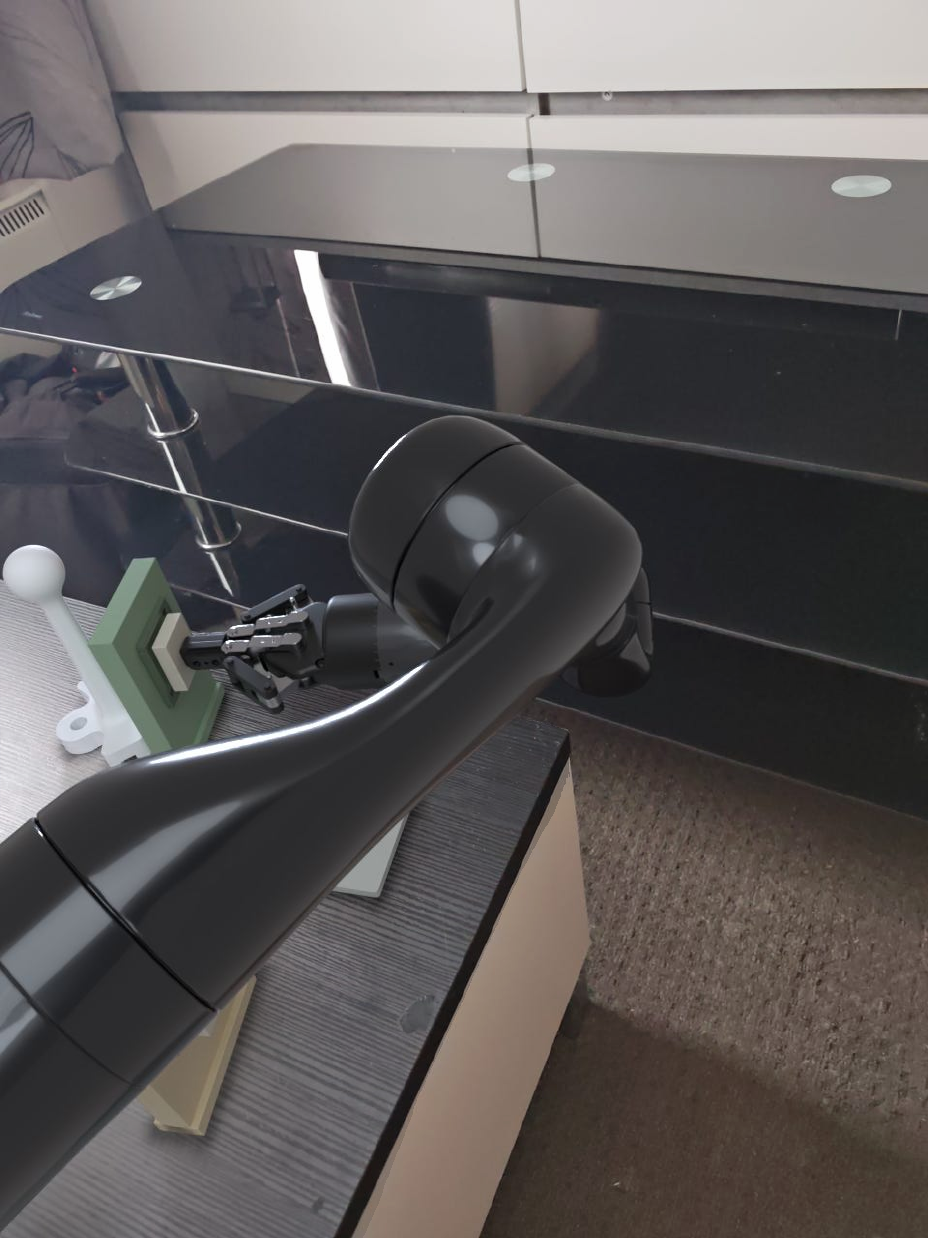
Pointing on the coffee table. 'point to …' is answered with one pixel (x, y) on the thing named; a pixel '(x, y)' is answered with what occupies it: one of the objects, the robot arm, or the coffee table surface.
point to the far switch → (173, 651)
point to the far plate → (151, 663)
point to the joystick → (75, 661)
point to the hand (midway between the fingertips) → (185, 652)
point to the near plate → (197, 1073)
